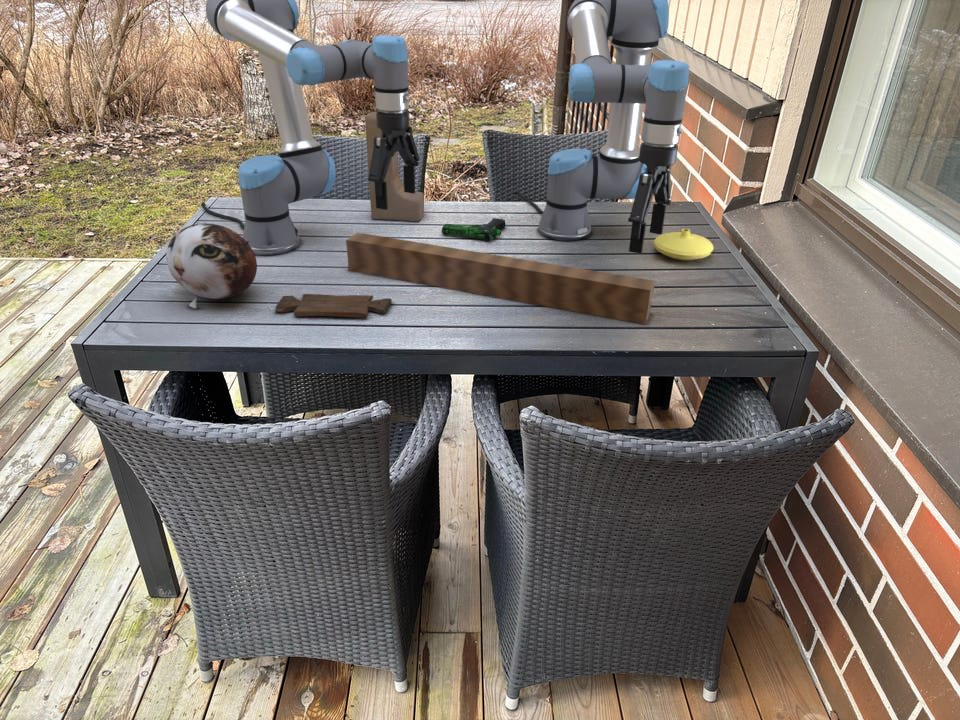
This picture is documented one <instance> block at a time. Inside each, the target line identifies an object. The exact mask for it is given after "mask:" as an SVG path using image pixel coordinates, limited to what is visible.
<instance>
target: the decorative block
mask: <svg viewBox="0 0 960 720" xmlns="http://www.w3.org/2000/svg"><path fill="white" fill-rule="evenodd" d="M376 112H377V111H371V112H369V113H368V114H367V115H366V116H365V117H364V124H365V125H364V126H365V139H366V156H367V170H368V172H367V173H369V171H370V165H371V160H372V154H373V149H374V137H381V136H382V131H381V129H379V128H378V127H377V120H376ZM385 150H386V149H385ZM399 172H400V171H399V152H398V151H397V152H396V153H395V154H394V156H393V157H392V158H391V161H390V164H389V167H388V170H387V173H386V176H385V180H384V182H386V184H387V205H388V209H387V210H384V209H379V208H376V196H375V183H374V182H373V181H369V180H368V184H369V201H370V216H371V219H374V220H387V221H388V220H389V221H405V222H420V221H421V219H422V217H423V216H424V214H425V194H424V193H423V192H421V191H417V190H415V193H414V194H413V193H407V192H404V183H403V182H402V179H401V177H400V173H399Z"/></svg>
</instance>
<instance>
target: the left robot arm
mask: <svg viewBox="0 0 960 720" xmlns="http://www.w3.org/2000/svg"><path fill="white" fill-rule="evenodd" d="M205 16H206V20H207V22H208V23H209V25H210V28H212V29H213V31H214V32H215V33H217V34H218V35H219V36H221V37H222V38H224V39H225V40H228V41H230V42H232V43H233V42H235V43H238V42H239V43H242V44H243V45H245V46H247V47H248V48H249V49H252V50H254V51H256V52H258V53H257V54H258V57H259V61H260V65H261V68H262V73H263V76H264V79H265V83H266V87H267V91H268V96H269V99H270V104H271V106H272V111H273V115H274V117H275V122H276V126H277V130H278V134H279V138H280V142H281V147H280V148H279V149H278V151H277V153H278V155H276V154H265V155H257V156H254V157H251V158H248V159H246V160H245V161H243V162H242V163H240V165H239V167H238V168H237V169H238V170H237V174H238V186H239V190H240V196H241V201H242V208H243V212H244V213H243V215H244V219H245V220H244V223H243V221H242V220H241V219H240V218H237V217H236V216H231V215H226V214H222V213H218V212H217V211H212V210H211V209H209V208H207V206H206V203H205V202H201V207H202V208H203V210H204V211H205V212H206V213H208V214H210V215H213V216H215V217H218V218H222V219H227V220H231V221H235V222H237V223H238V224H239V226H240V227H241V228H242V229H243V235H242V237H243V238H244V239H245V240H246V241H249V242H248V244H249V245H250V247H251V248H252V250H253V252H254V254H255V256H256V255H257V256H275V255H281V254H282V255H283V254H285V253H289V252H291V251H293V250H296V249H297V248H298V247H299V246H300V244H301V241H300V235H299V231H298V229H297V228H296V227H295V225H294V223H293V220H292V218H291V216H290V207H289V204H292V203H296V202H299V201H304V200H307V199H311V198H318V197H320V196H321V195H325V194H327V193H329V192H331V190H332V189H333V187H334V185H335V183H336V178H337V171H336V164H335V161H334V159H333V157H331V154H330V153H329V152H327V151H326V150H323V148H322V144H321V143H320V142H318V141H317V140H316V139H315V138H314V135H313V131H312V126H311V122H310V117H309V115H308V110H307V106H306V102H305V98H304V93H303V89H302V86H316V85H319V84H326V83H332V82H338V81H346V80H351V79H352V80H353V79H360V78H364V79H370V80H373V81H374V100H375V109H376V111H375V112H376V120H377V127H378V128H379V129H381V131H382V136H381V137H374V149H373V154H372V160H371V165H370V171H369V172H368V175H367V176H368V177H367V180H368V182H369V181H373V182H374V183H375V196H376V208H379V209H384V210H387V209H388V205H387V184H386V182H384V180H385V176H386V173H387V170H388V167H389V164H390V161H391V158H392V157H393V156H394V154H395V153H396V152H397V151H398V155H399V156H400V157H401V159H402V161H403V163H404V165H403V166H402V167H403V186H404V192H407V193H413V194H414V193H415V191H416V174H415V173H416V172H415V171H416V169H415V167H419V163H420V162H419V161H420V156H419V152H418V148H417V145H416V143H415V139H414V133H413V127H412V126H410V112H409V110H408V109H409V107H410V106H409V101H410V96H409V65H408V63H409V62H408V61H409V56H408V48H407V47H408V46H407V41H406V38H405V37H403V36H400V35H392V34H391V35H390V34H384V35H376V36H374V37H373V38H372V41H371V42H366V41H362V40H359V39H345V40H342V41H341V42H340V43H335V44H324V45H323V44H322V45H319V44H315V43H314V42H311V41H309V40H307V39H305V38H304V37H302V36H300V35H298V34H297V33H295V30H296V29H298V26H299V23H300V21H299V19H300V10H299V7H298V4H297V1H296V0H206V3H205ZM385 149H386V150H385ZM205 206H206V207H205Z"/></svg>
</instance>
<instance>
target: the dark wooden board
mask: <svg viewBox="0 0 960 720" xmlns="http://www.w3.org/2000/svg"><path fill="white" fill-rule="evenodd" d="M373 298H374V295H372V294H371V295H369V294H349V295H348V294H347V295H346V294H345V295H344V294H343V295H336V294H320V293H318V294H317V293H316V294H315V293H313V294H312V293H303V294H302V297H301V300H300V299H298V298H297V297H296V296H294V295H282V298H281V299H280V300H279V301H278V303H277V304H276V306H275V313H288V312H293V316H294V317H315V316H316V317H342V318H345V317H346V318H367V315H368V313H369V312H374V313H378V314H386V313H387V311H388V309H389V308H390V306H391V304H392V298H389V297H386V298H381V299H375V300H373Z"/></svg>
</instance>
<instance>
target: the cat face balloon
mask: <svg viewBox="0 0 960 720" xmlns="http://www.w3.org/2000/svg"><path fill="white" fill-rule="evenodd" d="M248 242H249V241H246V240H245V239H244V238H243V236H242V235H240V234H239V233H238V232H236V231H234V230H233V229H231V228H229V227H226V226H223V225H220V224H215V223H205V222H204V223H195V224H191V225H188V226H186V227H183V228H182V229H180V230H179V231H177V232H176V233H175V234H174V235H173V237H171V239H170V241H169V243H168V245H167V248H166V254H165V260H166V265H167V268H168V271H169V273H170V275H171V276H172V277H173V279H174V280H175V281H176V282H177V284H178V285H180V286H181V287H182V288H183V289H185V290H186V291H187V292H189V293H191V294H194V295H195V298H194V299H193V300H192V302H190V303H189V304H188V306H189V307H191V308H192V309H197V308H198V307H197V298H198V297H201V298H205V299H210V300H226V299H230V298H233V297H236V296H238V295H241V294H242V293H244V292H245V291H247V290H248V289H249V288H250V286H251V285H252V284H253V282H254V280H255V278H256V275H257V271H258V262H257V257H256V254H254V252H253V250H252V248H251V247H250V245H249V244H248Z"/></svg>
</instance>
